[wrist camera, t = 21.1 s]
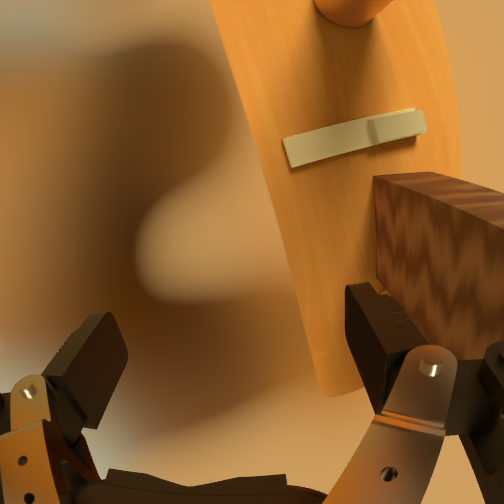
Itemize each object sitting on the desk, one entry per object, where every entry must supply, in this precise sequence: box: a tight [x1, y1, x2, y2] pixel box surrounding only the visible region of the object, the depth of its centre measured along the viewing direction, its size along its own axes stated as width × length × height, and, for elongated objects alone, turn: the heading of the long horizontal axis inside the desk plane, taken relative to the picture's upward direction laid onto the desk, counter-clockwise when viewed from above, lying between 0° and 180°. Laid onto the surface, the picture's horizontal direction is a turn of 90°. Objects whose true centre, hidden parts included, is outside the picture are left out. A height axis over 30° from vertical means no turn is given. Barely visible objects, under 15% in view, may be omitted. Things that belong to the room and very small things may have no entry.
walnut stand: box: [373, 172, 504, 418], centre depth 29 cm, size 17×11×32 cm, turn 9°
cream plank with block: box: [282, 108, 428, 168], centre depth 38 cm, size 4×20×4 cm, turn 108°
